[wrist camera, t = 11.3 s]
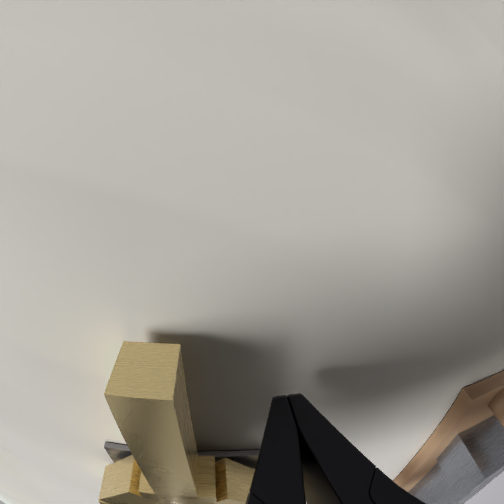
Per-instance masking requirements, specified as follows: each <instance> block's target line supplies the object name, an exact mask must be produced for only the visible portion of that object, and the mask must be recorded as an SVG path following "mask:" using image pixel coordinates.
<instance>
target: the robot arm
mask: <svg viewBox="0 0 504 504" xmlns="http://www.w3.org/2000/svg"><path fill="white" fill-rule="evenodd" d="M306 502H307V504H426V503H424V502H423V501H421V500H419V499H418V498H416V497H415V496H413V495H411V494H410V493H408V492H407V491H406V490H404V489H403V488H401V487H400V486H398V485H397V484H396V483H395V482H393V481H392V480H391V479H390V478H389V477H387V476H386V475H385V474H384V473H383V472H382V471H381V470H380V469H378V468H376V466H375V465H374V464H373V463H372V462H371V461H370V460H368V459H367V458H366V457H365V456H364V455H363V454H362V453H361V452H360V451H359V450H358V449H357V448H356V447H355V446H354V445H353V444H351V443H350V442H349V441H348V440H347V439H346V438H345V437H344V436H343V435H342V434H341V433H340V432H339V431H338V430H337V429H336V428H335V427H334V426H333V425H332V424H331V423H330V422H329V421H328V420H327V419H326V418H325V417H324V416H323V415H322V414H321V413H320V412H319V411H318V410H317V409H316V408H315V407H314V406H313V405H312V404H311V403H310V402H309V401H308V400H307V399H306V398H305V397H304V396H303V395H302V394H299V393H298V394H291V395H288V396H285V395H283V396H275V397H273V398H272V402H271V406H270V410H269V415H268V419H267V423H266V428H265V432H264V436H263V440H262V444H261V448H260V452H259V456H258V460H257V464H256V467H255V471H254V475H253V479H252V483H251V486H250V490H249V494H248V496H247V500H246V504H306Z"/></svg>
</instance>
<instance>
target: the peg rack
mask: <svg viewBox="0 0 504 504" xmlns="http://www.w3.org/2000/svg"><path fill="white" fill-rule="evenodd" d="M493 415H495V416H496V418H497V419H498V420H499V422H500V423H501V424H502V426H503V427H504V371H502V372H499V373H497V374H495V375H493V376H491V377H489V378H486V379H484V380H482V381H479V382H477V383H475V384H472V385H470V386H467V387H465V388H463V389H462V390H461V392H460V394H459V395H458V397H457V399H456V400H455V402H454V403H453V405H452V406H451V408H450V409H449V411H448V412H447V414H446V415H445V417H444V418H443V420H442V421H441V423H440V424H439V425H438V427H437V428H436V430H435V431H434V432H433V434H432V435H431V436H430V438H429V439H428V440H427V442H426V443H425V444H424V445H423V447H422V448H421V449H420V451H419V452H418V453H417V454H416V455H415V457H414V458H413V459H412V460H411V461H410V463H409V464H408V465H407V466H406V467H405V468H404V470H403V471H402V472H401V473H400V474H399V475H398V476H397V477H396V478H395V479H394V481H393V482H395V483H396V484H397V485H398V486H400V487H401V488H403V489H404V490H406V491H407V492H408V491H409V490H411V489H412V488H413V487H414V486H415V485H416V484H417V483H418V482H419V481H420V480H421V479H422V478H423V477H424V476H425V475H426V474H427V473H428V472H429V471H430V470H431V469H432V468H433V467H434V466H435V465H436V464H437V460H436V459H437V458H438V456H439V455H440V454H441V453H442V452H443V451H444V450H445V448H446V447H447V446H448V445H449V444H450V442H451V441H452V440H453V439H454V438H455V436H456V435H457V434H458V433H460V432H462V431H464V430H466V429H468V428H470V427H472V426H474V425H476V424H478V423H480V422H482V421H484V420H485V419H487V418H489V417H491V416H493Z"/></svg>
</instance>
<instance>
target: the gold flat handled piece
mask: <svg viewBox="0 0 504 504" xmlns="http://www.w3.org/2000/svg"><path fill="white" fill-rule="evenodd" d="M104 395H105V397H106V400H107V402H108V405H109V407H110V409H111V412H112V414H113V416H114V418H115V420H116V423H117V425H118V427H119V429H120V431H121V433H122V435H123V437H124V439H125V441H126V443H127V445H128V447H129V449H130V451H131V453H132V455H130V456H128V457H125V458H123V459H121V460H119V461H117V462H115V463H112V464H110V465H108V466H106V467H105V471H104V476H103V481H102V486H101V491H100V496H99V503H100V504H246V500H247V496H248V494H249V490H250V486H251V483H252V479H253V475H254V471H255V469H254V468H251V467H248V466H245V465H242V464H240V463H237V462H235V461H232V460H229V459H227V458H224V459H221V460H219V461H217V462H215V457H214V456H198V452H197V447H196V442H195V437H194V431H193V426H192V420H191V414H190V408H189V402H188V396H187V389H186V382H185V375H184V368H183V360H182V352H181V344H165V343H143V342H127V341H124V342H123V344H122V347H121V349H120V352H119V354H118V357H117V360H116V362H115V365H114V368H113V370H112V373H111V376H110V379H109V382H108V384H107V387H106V390H105V393H104Z"/></svg>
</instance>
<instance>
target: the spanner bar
mask: <svg viewBox="0 0 504 504" xmlns="http://www.w3.org/2000/svg"><path fill="white" fill-rule="evenodd" d="M436 460H437V464H436V465H435V466H434V467H433V468H432V469H431V470H430V471H429V472H428V473H427V474H426V475H425V476H424V477H423V478H422V479H421V480H420V481H419V482H418V483H417V484H416V485H415V486H414V487H413V488H412V489H411V490H409V491H408V493H410V494H411V495H413V496H415V497H416V498H418V499H419V500H421V501H423V502H424V503H426V504H464V503H465V502H466V501H467V500H469V499H470V498H471V497H473V496H474V495H475V494H476V493H478V492H479V491H480V490H481V489H482V488H483V487H485V486H486V485H487V484H488V483H489V482H491V481H492V480H493V479H494V478H495V477H497V476H498V475H499V474H501V473H502V472H503V471H504V427H503V426H502V424H501V423H500V422H499V420H498V419H497V418H496V416H495V415H493V416H491V417H489V418H487V419H485V420H484V421H482V422H480V423H478V424H476V425H474V426H472V427H470V428H468V429H466V430H464V431H462V432H460V433H458V434H457V435H456V436H455V438H454V439H453V440H452V441H451V442H450V444H449V445H448V446H447V447H446V448H445V450H444V451H443V452H442V453H441V454H440V455H439V456H438V458H437V459H436Z"/></svg>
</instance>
